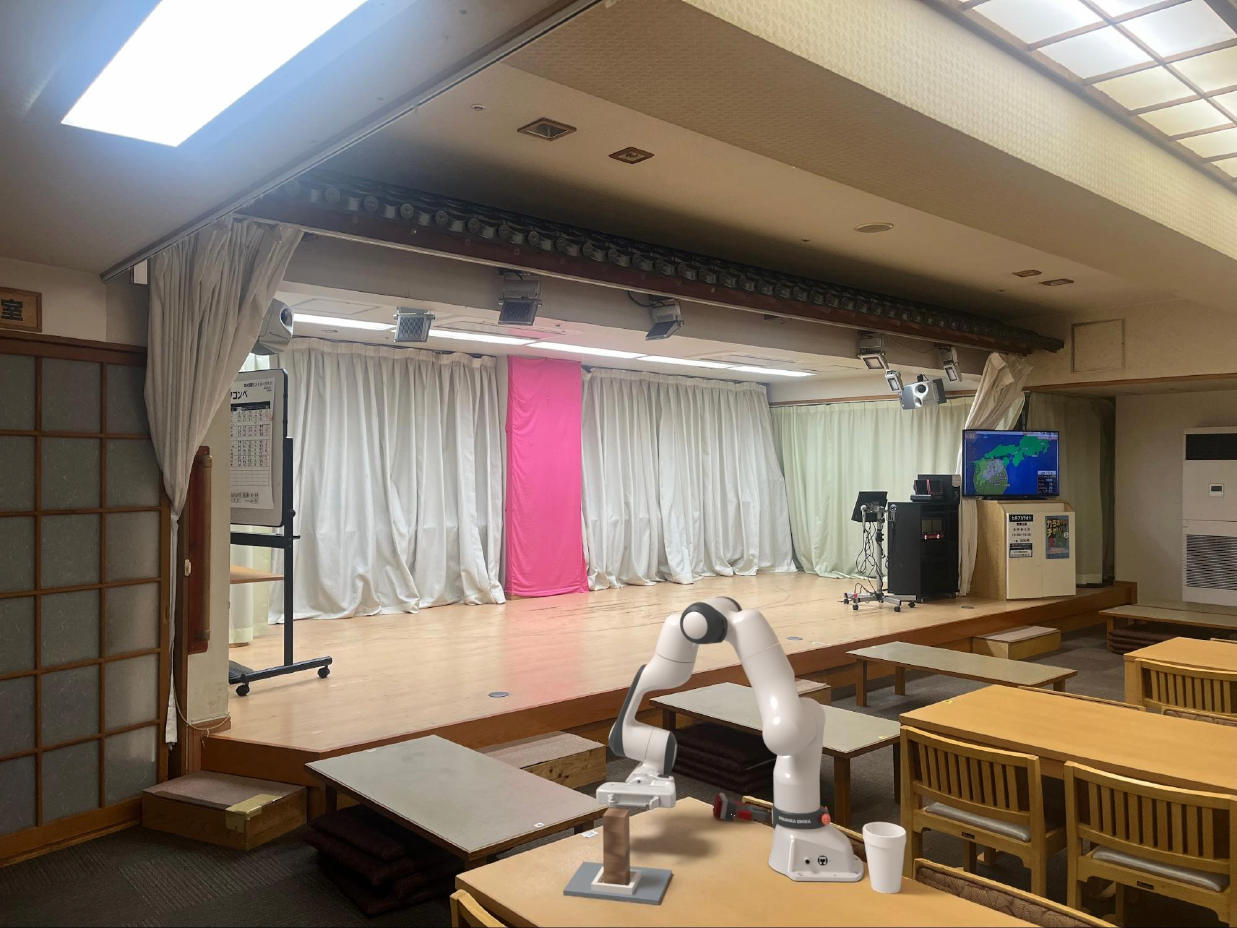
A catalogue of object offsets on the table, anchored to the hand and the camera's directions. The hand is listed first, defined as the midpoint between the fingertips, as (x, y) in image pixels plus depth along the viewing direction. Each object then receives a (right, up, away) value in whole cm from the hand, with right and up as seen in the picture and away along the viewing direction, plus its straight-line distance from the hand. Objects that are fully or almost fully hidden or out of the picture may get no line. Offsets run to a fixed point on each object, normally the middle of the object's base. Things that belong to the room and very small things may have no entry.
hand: (629, 805), depth 209 cm
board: (-3, -14, -10) cm, 18 cm away
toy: (+32, -16, +30) cm, 47 cm away
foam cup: (+59, -14, -13) cm, 61 cm away
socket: (-3, -14, -12) cm, 19 cm away
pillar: (-3, -13, -12) cm, 18 cm away
